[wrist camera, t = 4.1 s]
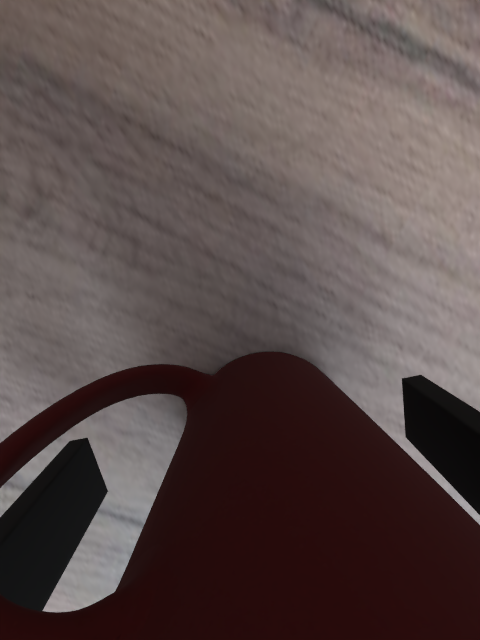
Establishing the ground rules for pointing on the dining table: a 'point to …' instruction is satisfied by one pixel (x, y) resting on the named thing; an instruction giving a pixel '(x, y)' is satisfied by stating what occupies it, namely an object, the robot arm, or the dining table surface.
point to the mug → (270, 519)
